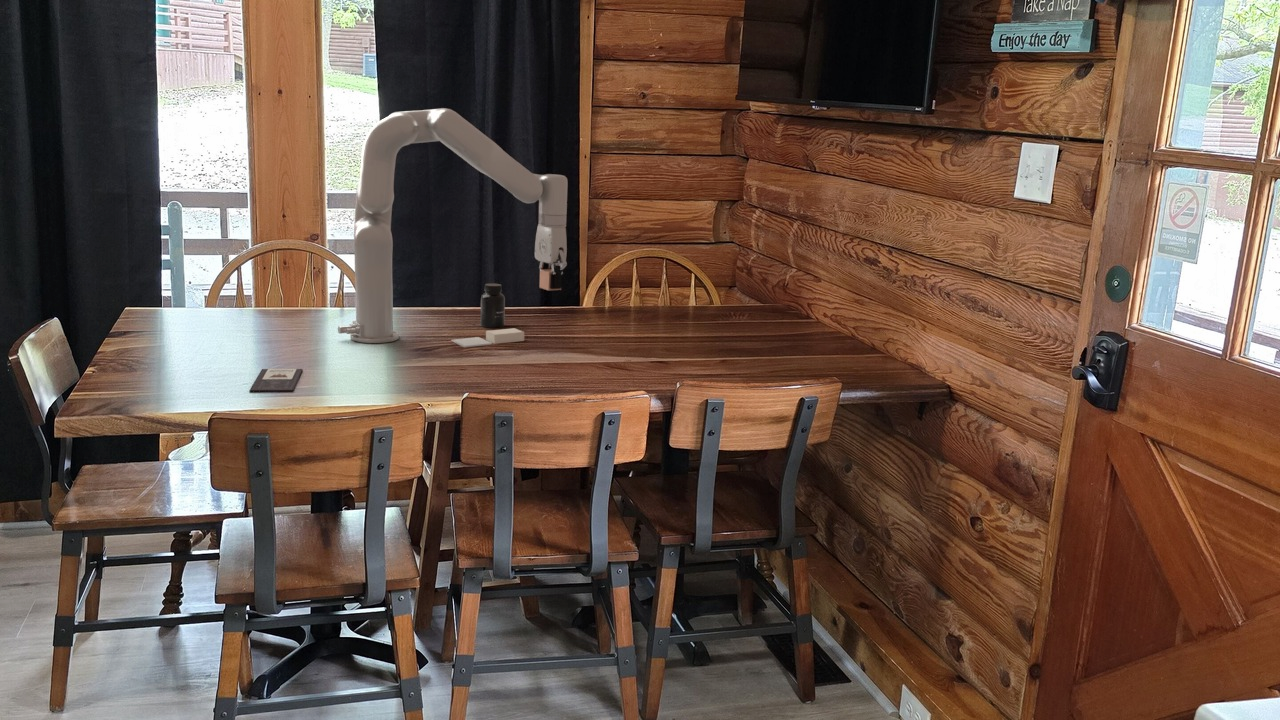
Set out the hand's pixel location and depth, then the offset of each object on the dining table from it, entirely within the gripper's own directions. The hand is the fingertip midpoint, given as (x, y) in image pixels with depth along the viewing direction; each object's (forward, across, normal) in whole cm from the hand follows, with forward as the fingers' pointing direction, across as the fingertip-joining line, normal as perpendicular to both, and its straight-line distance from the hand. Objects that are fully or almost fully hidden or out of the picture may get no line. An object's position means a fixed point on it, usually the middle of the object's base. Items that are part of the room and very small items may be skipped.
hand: (550, 286), depth 290 cm
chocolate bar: (+15, +15, -79) cm, 82 cm away
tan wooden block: (+1, 0, 0) cm, 1 cm away
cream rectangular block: (+14, 0, -14) cm, 20 cm away
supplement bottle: (+14, -18, -8) cm, 24 cm away
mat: (+14, -1, -23) cm, 27 cm away
